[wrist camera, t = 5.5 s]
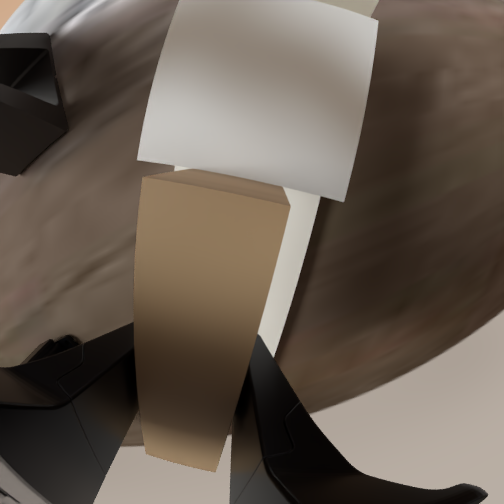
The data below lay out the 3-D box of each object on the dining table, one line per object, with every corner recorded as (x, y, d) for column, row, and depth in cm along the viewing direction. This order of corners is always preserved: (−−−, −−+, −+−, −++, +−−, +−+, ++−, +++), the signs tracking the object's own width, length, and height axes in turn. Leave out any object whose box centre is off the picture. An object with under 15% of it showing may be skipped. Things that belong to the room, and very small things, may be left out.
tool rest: (259, 393, 18) (259, 399, 18) (160, 370, 18) (158, 375, 18) (323, 173, 13) (326, 173, 13) (182, 144, 13) (178, 144, 13)
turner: (268, 403, 11) (264, 479, 7) (137, 371, 11) (102, 436, 7) (370, 30, 6) (422, -29, 2) (190, -2, 6) (149, -68, 2)
